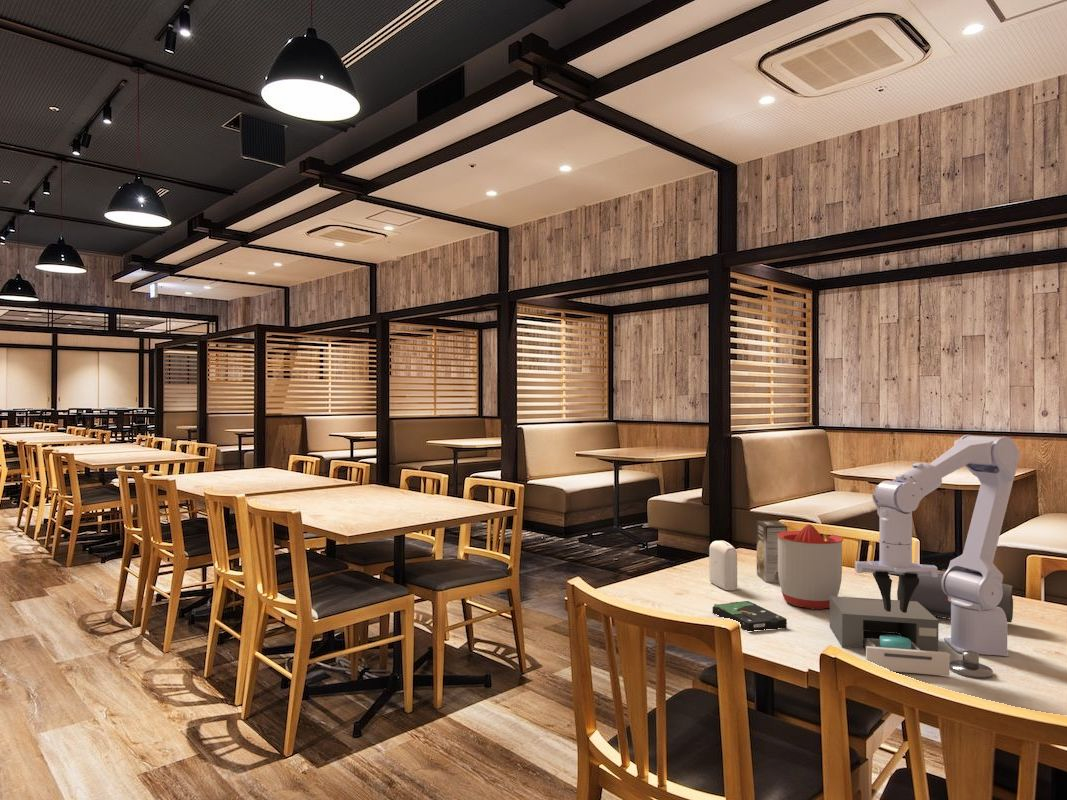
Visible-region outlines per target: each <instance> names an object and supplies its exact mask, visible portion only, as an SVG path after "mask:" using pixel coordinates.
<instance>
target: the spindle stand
mask: <svg viewBox="0 0 1067 800" xmlns="http://www.w3.org/2000/svg"><path fill="white" fill-rule="evenodd" d="M979 657H980V654H978V653H977V652H974V651H968V650H964V651H963V653H962V660H961V659H956V660H951V661H949V671H951V672H952V673H955V674H956V673H957V675H959V676H962V677H966V678H970V677H971V678H972V679H977V680H978V679H979V680H985V679H987V678H988V679H991V678H993V676H994V670H993V669H992V668H991V667H989V666H987V665H985V664H983V663H980V661H979V660H980V659H979Z"/></svg>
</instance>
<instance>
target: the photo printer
mask: <svg viewBox="0 0 1067 800" xmlns="http://www.w3.org/2000/svg"><path fill="white" fill-rule="evenodd" d="M708 549H709V551H708V552H709V566H708V567H709V570H708V571H709V582H710V583H711V584H713V585H715V586H717V587H719V588H721V589H723V590H725V591H736V590H737V589H738V551H737V550H736V548H735V547H734V546H733V545H732V544H731V543H729V542H727V541H725V540H714V541H712V542H711V543H710V545H709V548H708Z"/></svg>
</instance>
